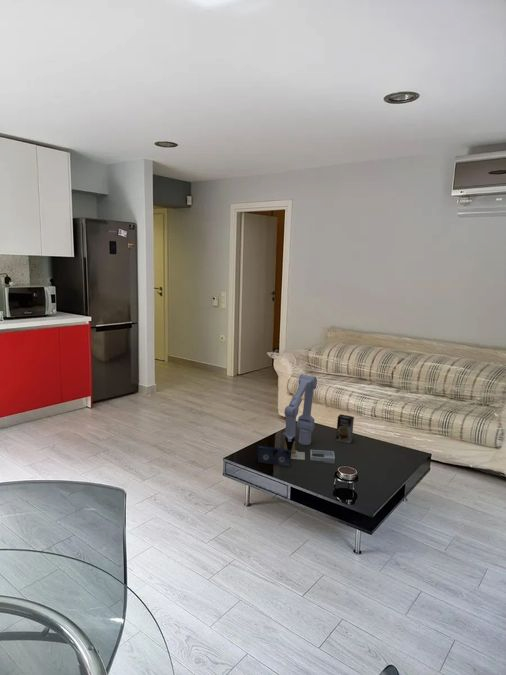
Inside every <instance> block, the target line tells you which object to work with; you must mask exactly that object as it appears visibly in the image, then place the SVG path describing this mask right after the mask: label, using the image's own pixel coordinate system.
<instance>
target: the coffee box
mask: <svg viewBox="0 0 506 675" xmlns="http://www.w3.org/2000/svg"><path fill="white" fill-rule="evenodd" d="M354 421H355V417H354V416H351V415H347V414H341V413H340V414H339V415H338V416H337V421H336V422H337V423H336V433H335V434H336V435H335V436H336V438H335V441H336V442H341V443H344V444H350V443H352V441H353V432H354Z"/></svg>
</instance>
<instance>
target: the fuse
mask: <svg viewBox="0 0 506 675" xmlns="http://www.w3.org/2000/svg"><path fill="white" fill-rule="evenodd" d="M283 446H284V448H283V449H287V443H286V441H285V440H284V445H283ZM287 450H288V449H287ZM295 450H296V440H295V441H294V443H293V445H292V449H291V454H295Z"/></svg>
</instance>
